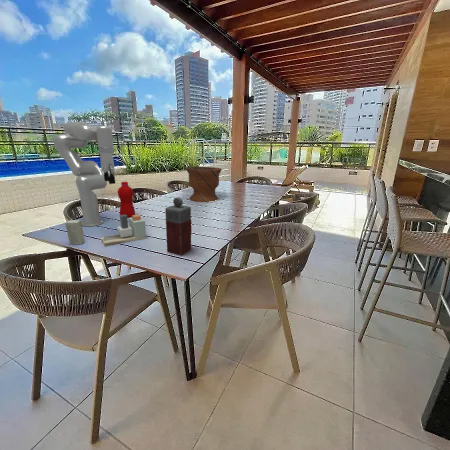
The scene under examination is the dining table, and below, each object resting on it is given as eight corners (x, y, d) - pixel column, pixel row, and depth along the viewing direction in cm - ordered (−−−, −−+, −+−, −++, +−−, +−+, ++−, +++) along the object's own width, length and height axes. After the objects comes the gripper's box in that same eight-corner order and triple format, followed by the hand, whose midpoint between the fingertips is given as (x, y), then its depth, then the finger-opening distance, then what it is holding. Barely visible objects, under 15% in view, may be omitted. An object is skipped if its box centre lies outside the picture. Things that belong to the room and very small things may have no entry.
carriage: (118, 234, 140) (115, 214, 137) (128, 232, 144) (127, 213, 140) (121, 238, 135) (119, 218, 131) (132, 236, 139) (130, 216, 135)
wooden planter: (200, 204, 220) (200, 171, 211) (179, 197, 244) (178, 167, 235) (228, 199, 243) (229, 169, 233) (206, 193, 267) (206, 166, 257)
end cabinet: (129, 232, 146) (128, 217, 143) (139, 230, 149) (138, 216, 146) (135, 237, 138) (134, 222, 135) (146, 235, 142) (144, 220, 139)
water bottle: (132, 218, 176) (129, 183, 168) (118, 217, 178) (114, 182, 170) (139, 215, 184) (136, 181, 176) (125, 213, 186) (122, 180, 178)
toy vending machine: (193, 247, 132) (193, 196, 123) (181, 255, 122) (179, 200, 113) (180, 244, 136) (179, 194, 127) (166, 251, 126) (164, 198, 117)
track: (100, 240, 137) (99, 234, 136) (140, 232, 150) (139, 227, 149) (105, 246, 130) (104, 240, 128) (146, 238, 142) (145, 232, 141)
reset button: (132, 220, 142) (132, 215, 141) (138, 219, 144) (138, 214, 143) (134, 222, 139) (134, 217, 138) (140, 221, 141) (140, 216, 140)
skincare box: (85, 241, 135) (81, 220, 131) (81, 244, 131) (77, 222, 127) (73, 241, 135) (69, 219, 131) (68, 244, 131) (64, 222, 127)
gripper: (95, 149, 138) (99, 180, 143) (102, 151, 125) (106, 185, 130) (109, 149, 142) (112, 179, 148) (118, 151, 129) (121, 184, 135)
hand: (109, 182), depth 139 cm, fingers open, 9 cm apart
